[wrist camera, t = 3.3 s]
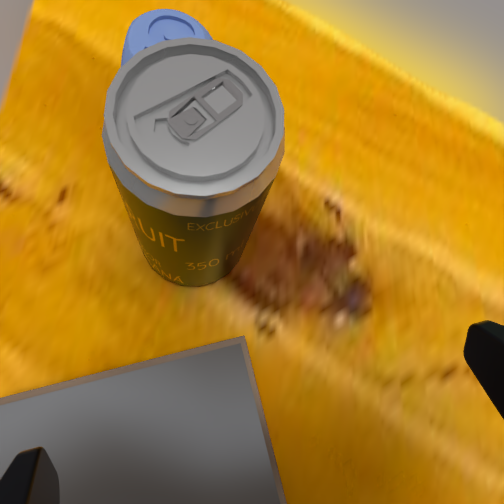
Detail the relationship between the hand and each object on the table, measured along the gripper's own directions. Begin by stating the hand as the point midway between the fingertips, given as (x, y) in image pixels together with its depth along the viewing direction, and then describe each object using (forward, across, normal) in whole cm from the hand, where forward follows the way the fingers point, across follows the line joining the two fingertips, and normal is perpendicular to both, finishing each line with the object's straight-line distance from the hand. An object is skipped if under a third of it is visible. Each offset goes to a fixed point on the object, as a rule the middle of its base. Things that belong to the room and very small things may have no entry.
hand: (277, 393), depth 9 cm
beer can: (+15, 0, +4) cm, 16 cm away
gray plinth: (+7, +4, +12) cm, 15 cm away
